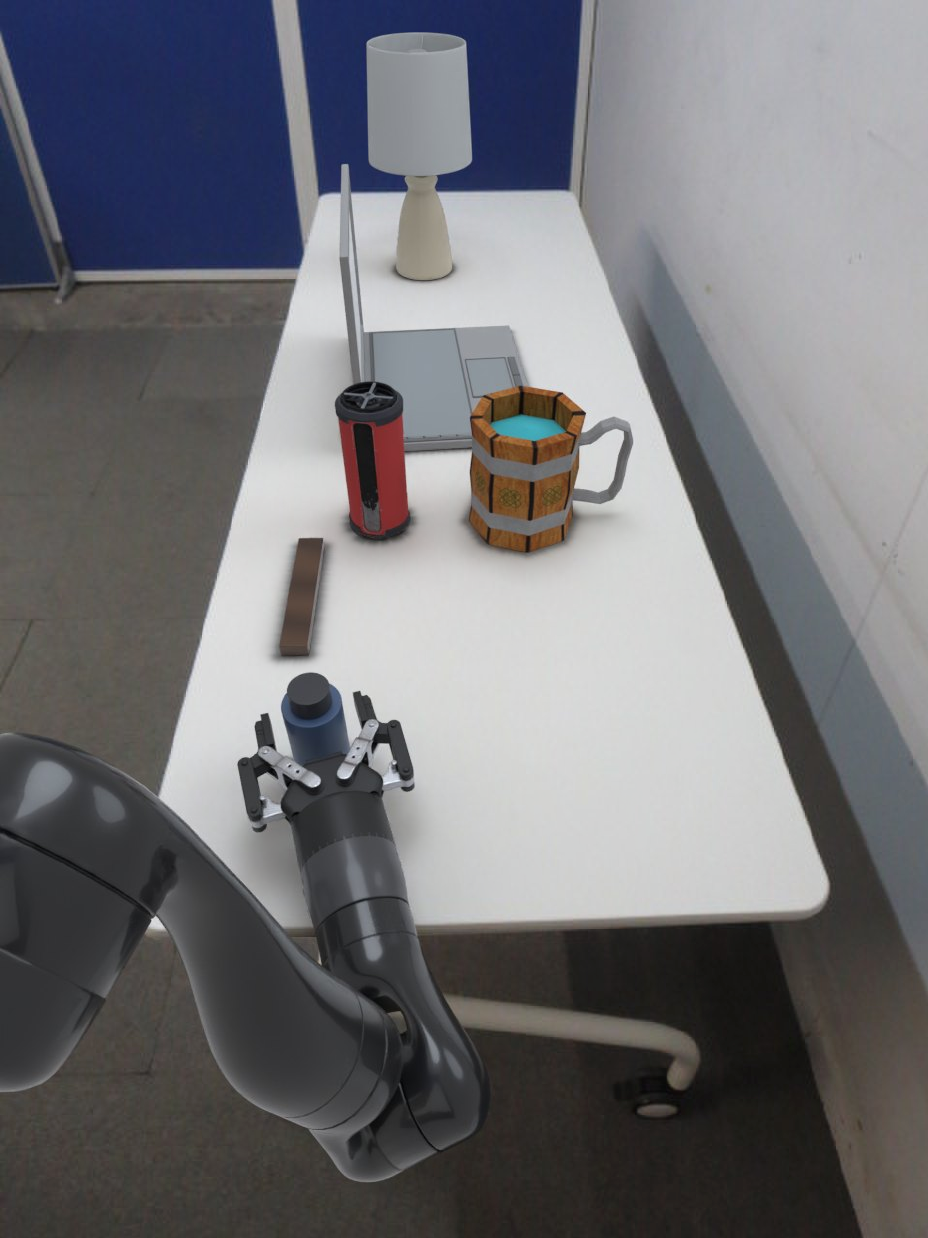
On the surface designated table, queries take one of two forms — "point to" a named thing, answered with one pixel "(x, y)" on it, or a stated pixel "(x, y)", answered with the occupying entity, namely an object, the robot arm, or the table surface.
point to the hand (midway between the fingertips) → (311, 708)
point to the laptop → (425, 359)
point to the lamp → (419, 136)
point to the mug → (532, 466)
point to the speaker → (374, 458)
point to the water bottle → (314, 718)
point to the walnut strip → (302, 597)
